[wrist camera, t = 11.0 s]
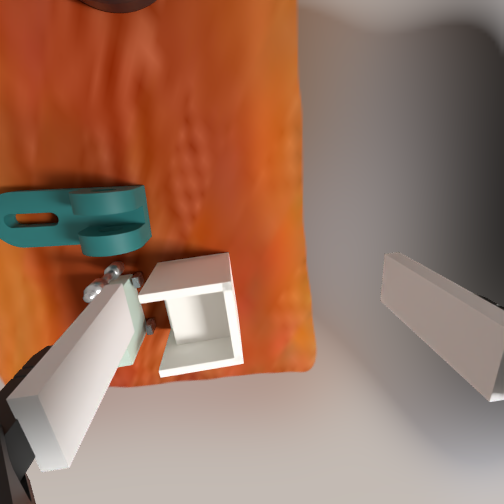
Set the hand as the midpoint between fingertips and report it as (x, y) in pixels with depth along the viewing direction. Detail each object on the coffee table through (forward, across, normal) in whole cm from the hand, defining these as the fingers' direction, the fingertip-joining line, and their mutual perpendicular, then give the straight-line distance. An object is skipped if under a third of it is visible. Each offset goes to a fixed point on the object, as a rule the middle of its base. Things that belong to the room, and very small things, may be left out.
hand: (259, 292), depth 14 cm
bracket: (+26, -20, +1) cm, 33 cm away
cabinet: (+25, -6, -12) cm, 29 cm away
